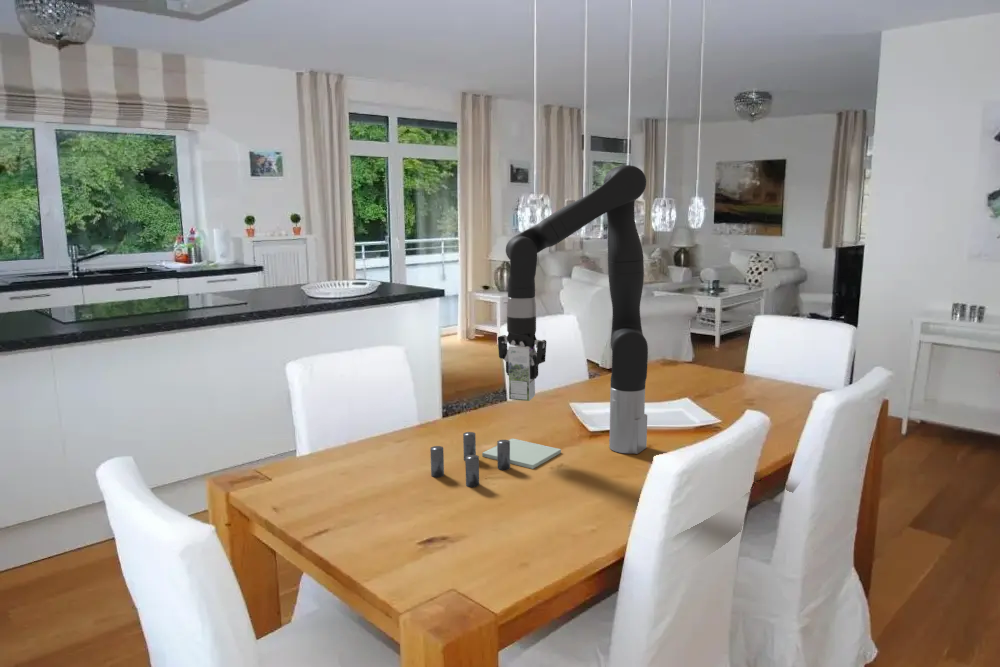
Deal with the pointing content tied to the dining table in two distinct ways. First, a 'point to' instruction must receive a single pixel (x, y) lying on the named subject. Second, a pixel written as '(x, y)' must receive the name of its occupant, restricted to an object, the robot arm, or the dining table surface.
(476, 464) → the cylinder
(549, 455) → the sage board
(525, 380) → the syrup box
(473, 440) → the cylinder
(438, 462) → the cylinder
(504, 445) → the cylinder
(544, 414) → the dining table surface
